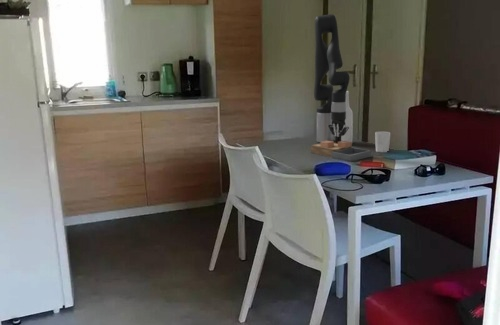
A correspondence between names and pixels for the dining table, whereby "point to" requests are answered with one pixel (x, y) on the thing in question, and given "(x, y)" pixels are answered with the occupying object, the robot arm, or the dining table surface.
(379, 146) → the white cup
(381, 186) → the dining table surface
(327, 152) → the oak plate
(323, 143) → the tile
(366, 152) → the box
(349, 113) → the alcohol
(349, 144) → the tile
